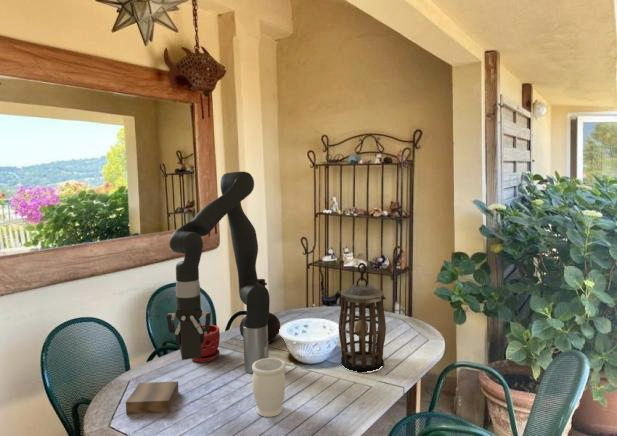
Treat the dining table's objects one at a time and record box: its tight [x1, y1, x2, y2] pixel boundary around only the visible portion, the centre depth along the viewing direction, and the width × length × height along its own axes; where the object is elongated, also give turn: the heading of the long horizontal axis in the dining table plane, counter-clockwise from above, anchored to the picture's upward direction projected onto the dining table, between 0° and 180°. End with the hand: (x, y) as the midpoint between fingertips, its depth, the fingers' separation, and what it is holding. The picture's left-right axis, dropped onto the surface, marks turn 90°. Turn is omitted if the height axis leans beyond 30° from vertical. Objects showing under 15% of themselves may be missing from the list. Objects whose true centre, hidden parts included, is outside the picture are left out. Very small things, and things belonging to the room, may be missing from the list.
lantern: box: [338, 262, 387, 372], centre depth 172 cm, size 19×19×40 cm
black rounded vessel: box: [239, 278, 281, 344], centre depth 198 cm, size 18×18×28 cm
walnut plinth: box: [125, 381, 180, 415], centre depth 146 cm, size 13×13×4 cm
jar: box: [251, 357, 286, 418], centre depth 140 cm, size 11×10×15 cm
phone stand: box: [178, 319, 202, 361], centre depth 144 cm, size 9×6×12 cm, turn 20°
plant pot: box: [191, 324, 221, 363], centre depth 181 cm, size 13×13×12 cm
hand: (190, 344), depth 144 cm, fingers closed on phone stand, 6 cm apart
